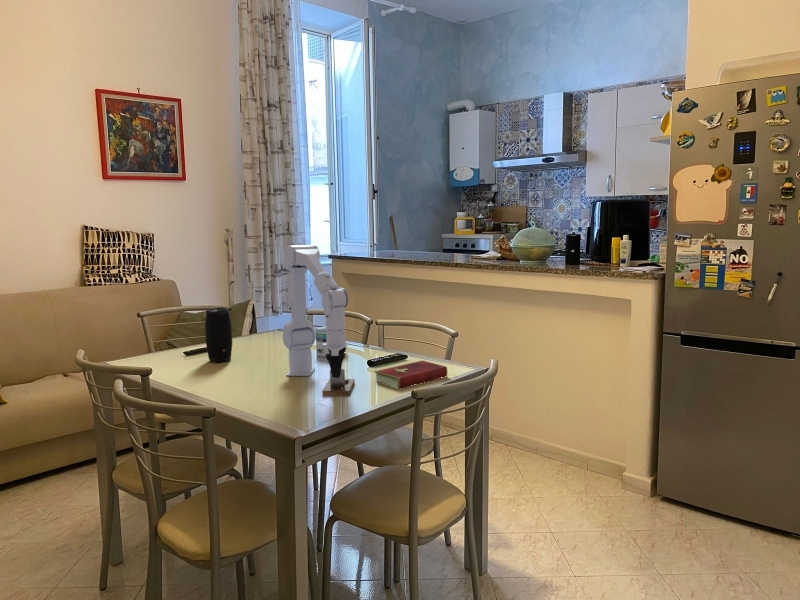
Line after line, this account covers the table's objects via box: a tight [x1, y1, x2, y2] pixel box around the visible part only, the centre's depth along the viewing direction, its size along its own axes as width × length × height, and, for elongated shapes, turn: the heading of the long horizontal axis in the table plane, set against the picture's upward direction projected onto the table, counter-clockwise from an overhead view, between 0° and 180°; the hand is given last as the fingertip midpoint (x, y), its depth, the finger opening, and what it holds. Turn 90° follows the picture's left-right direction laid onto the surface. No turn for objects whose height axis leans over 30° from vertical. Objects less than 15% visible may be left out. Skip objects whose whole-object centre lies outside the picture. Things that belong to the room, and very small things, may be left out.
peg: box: [329, 368, 346, 389], centre depth 183 cm, size 4×4×7 cm
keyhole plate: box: [321, 378, 356, 397], centre depth 186 cm, size 13×8×2 cm, turn 177°
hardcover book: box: [374, 360, 448, 390], centre depth 196 cm, size 12×21×4 cm, turn 131°
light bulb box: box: [315, 325, 347, 358], centre depth 232 cm, size 11×7×11 cm, turn 148°
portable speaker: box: [204, 306, 233, 363], centre depth 224 cm, size 9×9×20 cm
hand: (336, 373), depth 182 cm, fingers open, 7 cm apart
